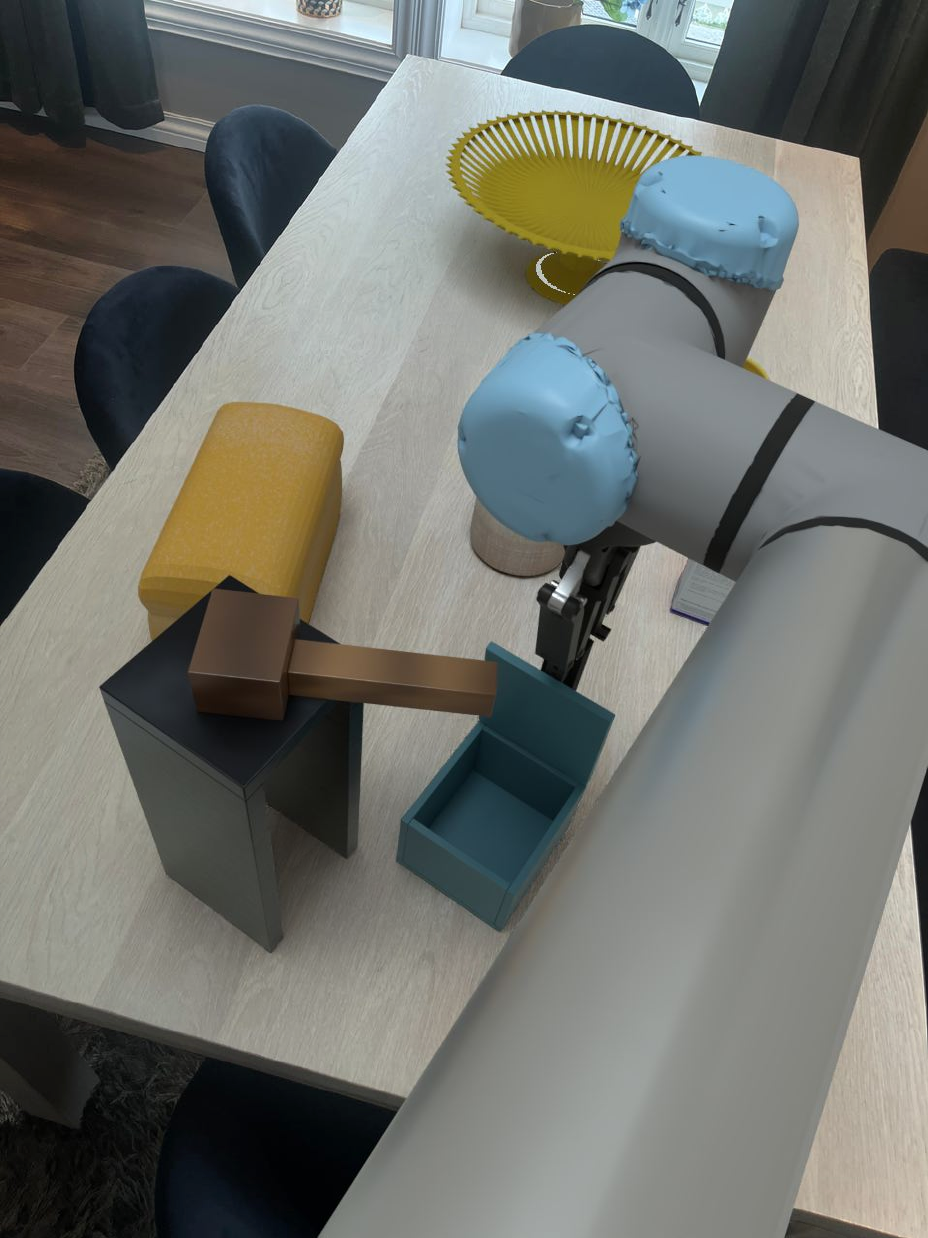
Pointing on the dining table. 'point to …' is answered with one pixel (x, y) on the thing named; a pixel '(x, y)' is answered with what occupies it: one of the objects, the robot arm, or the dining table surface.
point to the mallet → (317, 666)
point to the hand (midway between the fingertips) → (555, 689)
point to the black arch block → (232, 775)
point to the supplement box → (700, 592)
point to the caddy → (488, 824)
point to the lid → (547, 716)
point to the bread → (250, 512)
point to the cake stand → (557, 192)
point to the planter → (511, 547)
